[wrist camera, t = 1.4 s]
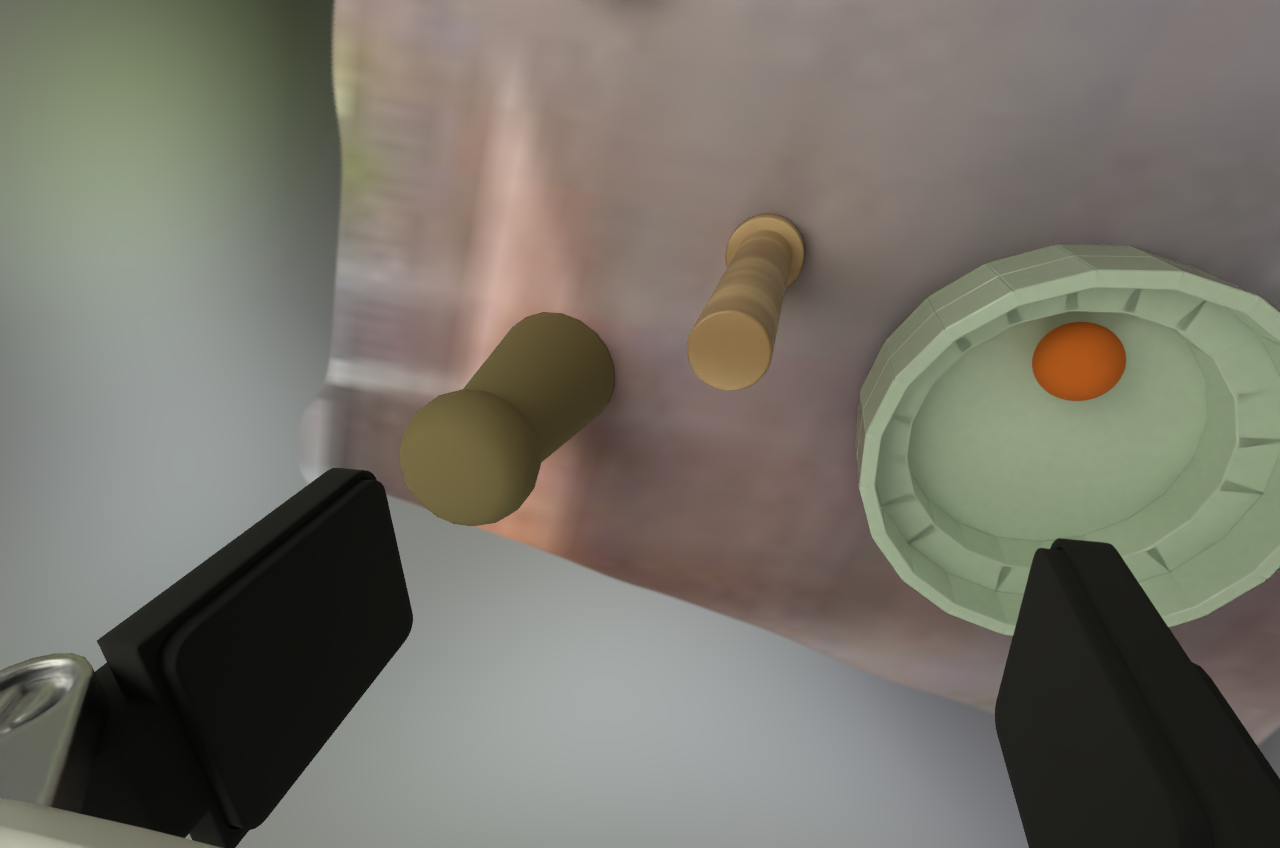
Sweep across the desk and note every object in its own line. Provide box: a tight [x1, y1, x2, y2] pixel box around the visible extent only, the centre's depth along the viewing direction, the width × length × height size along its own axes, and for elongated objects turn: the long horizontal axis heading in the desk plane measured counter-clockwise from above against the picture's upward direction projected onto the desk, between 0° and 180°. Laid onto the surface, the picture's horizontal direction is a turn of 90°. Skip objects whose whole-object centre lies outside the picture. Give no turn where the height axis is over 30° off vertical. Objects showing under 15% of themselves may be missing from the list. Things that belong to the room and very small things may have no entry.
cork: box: [400, 313, 614, 526], centre depth 29 cm, size 6×6×11 cm
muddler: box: [687, 214, 805, 391], centre depth 23 cm, size 3×3×13 cm
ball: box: [1032, 322, 1126, 401], centre depth 26 cm, size 3×3×3 cm
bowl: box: [855, 244, 1280, 636], centre depth 27 cm, size 15×15×5 cm
